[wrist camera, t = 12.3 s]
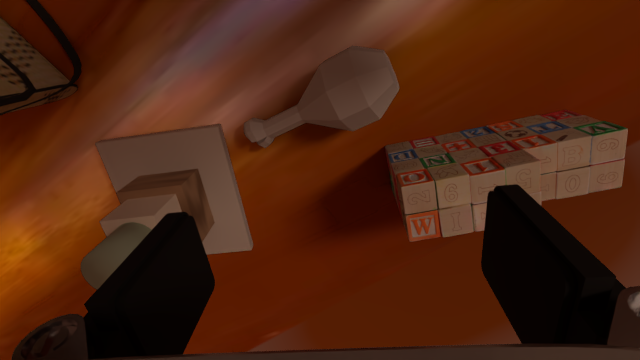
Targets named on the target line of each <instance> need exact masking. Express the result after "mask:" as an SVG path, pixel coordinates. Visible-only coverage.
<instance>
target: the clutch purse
mask: <svg viewBox="0 0 640 360" xmlns="http://www.w3.org/2000/svg"><path fill="white" fill-rule="evenodd" d="M26 1H27V2H28V3H29V4H30V5H31V6H32V8H33V9H34V10H35V11H36V12H37V13H38V15H39V16H40V17H41V18H42V20H43V21H44V22H45V23H46V24H47V26H48V27H49V28H50V30H51V31H52V32H53V34H54V35H55V36H56V38H57V39H58V40H59V42H60V43H61V45H62V46H63V48H64V49H65V51H66V52H67V54H68V56H69V57H70V59H71V61H72V63H73V66H74V75H73V77H72V79H71V81H69V80H68V79H67V78H66V77H65V76H64V75H63V74H62V73H61V72H60V71H58V70H57V69H56V68H55V67H54V66H53V65H52V64H51V63H50V62H49V61H48V60H47V59H46V58H44V57H43V56H42V55H41V54H40V53H39V52H38V51H37V50H36V49H35V48H34V47H33V46H31V45H30V44H29V43H28V42H27V41H26V40H25V39H24V38H23V37H22V36H21V35H20V34H19V33H17V32H16V31H15V30H14V29H13V28H12V27H11V26H10V25H9V24H8V23H7V22H6V21H5V20H3V19H2V18H1V17H0V115H2V114H5V113H9V112H13V111H17V110H21V109H26V108H30V107H34V106H38V105H42V104H46V103H50V102H54V101H57V100H60V99H63V98H66V97H68V96H70V95H72V94H73V93H74V92H76V91H77V88H78V87H77V85H75V84H73V83H74V82H75V81H76V80H77V79H78V78H79V76H80V74H81V62H80V59H79V57H78V55H77V53H76V52H75V50H74V48H73V47H72V45H71V44H70V42H69V41H68V39H67V38H66V36H65V35H64V33H63V32H62V31H61V29H60V28H59V27H58V25H57V24H56V23H55V21H54V20H53V19H52V18H51V16H50V15H49V14H48V13H47V11H46V10H45V9H44V8H43V7H42V5H41V4H40V3H39V2H38V1H37V0H26Z"/></svg>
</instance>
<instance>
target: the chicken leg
mask: <svg viewBox="0 0 640 360" xmlns="http://www.w3.org/2000/svg"><path fill="white" fill-rule="evenodd" d="M398 91H399V84H398V81H397V78H396V75H395V72H394V70H393V68H392V65H391V63H390V60H389V58H388V56H387V55H386V53H385V51H384V50H378V49H372V48H365V47H358V46H351V47H349V48H347V49H346V50H344V51H342V52H340V53H338V54H336V55H334V56H333V57H331V58H329V59H327V60H325V61H324V62H323V63H322V64H320V65H319V67H318V69H317V71H316V72H315V74H314V76H313V78H312V79H311V81H310V83H309V85H308V87H307V88H306V90H305V92H304V94H303V96H302V97H301V99H300V101H299V103H298V104H297V105H295V106H293V107H291V108H289V109H287V110H285V111H283V112H281V113H279V114H277V115H275V116H273V117H271V118H269V119H267V120H261V119H257V118H252V119H250V120H249V121H247V122H245V123H244V134H245V135H246V137H247V138H248V139H249V140H250V141H251V142H257V144H258V145H260V146H262V147H264V148H266V147H267V146H269V145H270V144H271V143H272V142H273V141H274V137H276V136H279V135H281V134H283V133H285V132H287V131H289V130H291V129H294V128H296V127H298V126H300V125H302V124H304V123H311V124H316V125H322V126H327V127H333V128H338V129H344V130H349V131H354V130H357V129H359V128H361V127H363V126H366V125H368V124H370V123H373V122H375V121H377V120H379V119H381V117H382V116H383V114H384V113H385V111H386V109H387V108H388V106H389V105H390V103H391V102H392V100H393V99H394V97H395V96H396V94H397V92H398Z"/></svg>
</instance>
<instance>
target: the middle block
mask: <svg viewBox="0 0 640 360" xmlns="http://www.w3.org/2000/svg"><path fill="white" fill-rule="evenodd" d="M175 212H182V210H181V208H180V205H179V202H178V199H177V196H176V194H170V195H161V196H153V197H144V198H136V199H127V200H126V201H125V202H123V203H122V204H121V205H120V206H118V207H117V208H116V209H115V210H113V211H112V212H111V213H109V214H108V215H107V216H106V217H104V218H103V219H102V220H101V221H99V222H100V224H101V226H102V228H103V230H104V232H105V235H106V237H108V236H109V235H110V234H111V233H112V232H113V231H114V230H115V229H117V228H118V227H119V226H120V225H122V224H124V223H129V222H134V223H140V224H143V225H145V226H147V227H149V228H150V229H151V230H152V229H153V228H154V227H155V226H156V225H157V224H158V223H159V221H160V220H161V219H162V218H163V217H164V216H165V215H166V214H167V213H175Z"/></svg>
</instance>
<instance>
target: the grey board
mask: <svg viewBox="0 0 640 360" xmlns="http://www.w3.org/2000/svg"><path fill="white" fill-rule="evenodd" d="M95 145H96V147H97V149H98V152H99V154H100V156H101V159H102V161H103V163H104V166H105V168H106V170H107V173H108V175H109V177H110V180H111V182H112V184H113V187H114V189H115V191H116V192H118V191H119V190H120V189H122V188H123V187H125V186H126V185H127V184H129V183H130V182H131V181H133V180H134V179H136V178H137V177H138V176H143V175H151V174H159V173H167V172H175V171H183V170H191V169H198V170H199V174H200V177H201V180H202V183H203V186H204V190H205V193H206V196H207V199H208V202H209V206H210V209H211V212H212V215H213V218H214V222H215V223H214V225H213V226H212V228H211V229H210V231H209V232H208V234H207V236H206V237H205V239H204V240H203V242H202V243H203V246H204V249H205V252H206V254H216V253H227V252H237V251H247V250H252V247H253V242H252V238H251V235H250V231H249V227H248V223H247V220H246V216H245V212H244V208H243V205H242V201H241V197H240V194H239V190H238V186H237V182H236V179H235V175H234V171H233V167H232V164H231V160H230V156H229V153H228V149H227V145H226V141H225V138H224V134H223V130H222V127H221V124H216V125H208V126H201V127H194V128H187V129H179V130H172V131H165V132H158V133H150V134H143V135H136V136H129V137H121V138H114V139H107V140H101V141H98V142H96V143H95Z"/></svg>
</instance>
